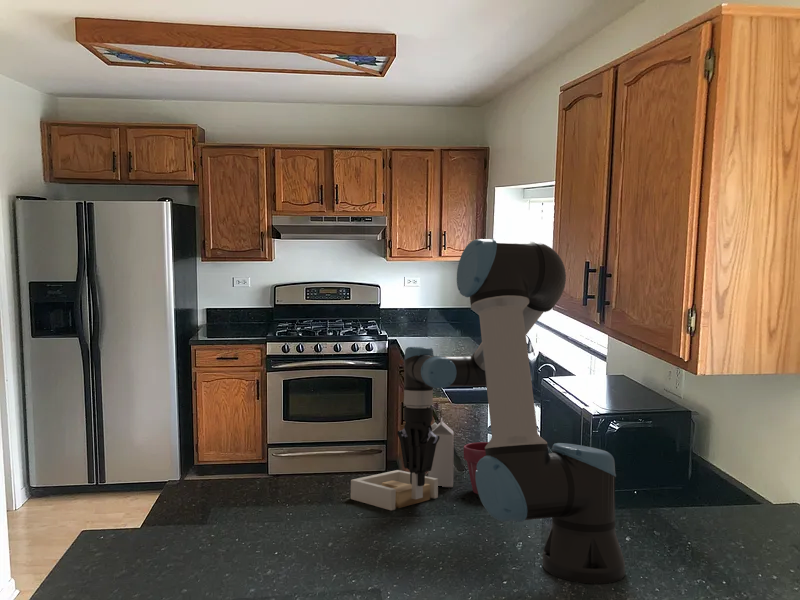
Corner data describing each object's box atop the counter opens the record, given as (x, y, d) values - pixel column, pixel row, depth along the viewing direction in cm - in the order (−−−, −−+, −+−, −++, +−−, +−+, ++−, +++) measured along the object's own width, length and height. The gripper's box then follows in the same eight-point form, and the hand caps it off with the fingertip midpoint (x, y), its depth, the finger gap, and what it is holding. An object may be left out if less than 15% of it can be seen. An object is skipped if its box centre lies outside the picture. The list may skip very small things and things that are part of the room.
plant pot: (455, 494, 178) (456, 447, 179) (472, 483, 191) (473, 440, 191) (506, 501, 172) (507, 452, 173) (520, 489, 185) (520, 444, 185)
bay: (437, 497, 175) (438, 478, 175) (391, 510, 162) (391, 490, 162) (397, 487, 185) (397, 469, 185) (350, 498, 172) (350, 479, 172)
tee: (429, 499, 173) (430, 484, 173) (398, 508, 164) (398, 492, 164) (402, 492, 180) (402, 478, 180) (371, 500, 171) (371, 485, 171)
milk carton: (453, 482, 193) (453, 417, 194) (452, 487, 186) (453, 421, 187) (429, 481, 194) (430, 417, 194) (427, 486, 186) (428, 420, 187)
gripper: (446, 407, 167) (445, 500, 166) (409, 402, 176) (408, 490, 175) (427, 409, 162) (426, 505, 161) (390, 405, 171) (389, 495, 170)
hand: (417, 497), depth 168 cm, fingers closed
